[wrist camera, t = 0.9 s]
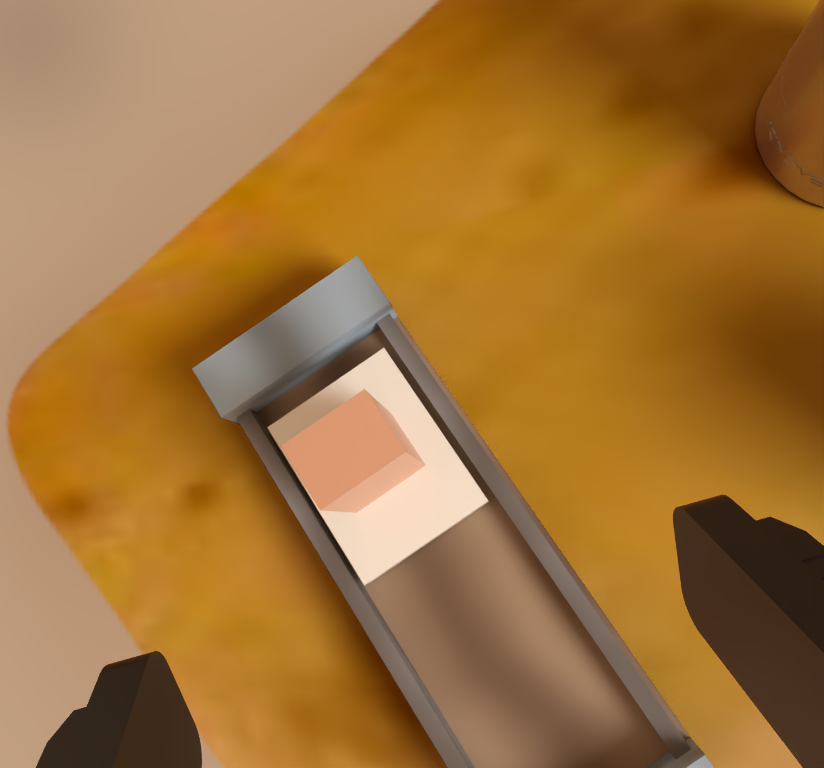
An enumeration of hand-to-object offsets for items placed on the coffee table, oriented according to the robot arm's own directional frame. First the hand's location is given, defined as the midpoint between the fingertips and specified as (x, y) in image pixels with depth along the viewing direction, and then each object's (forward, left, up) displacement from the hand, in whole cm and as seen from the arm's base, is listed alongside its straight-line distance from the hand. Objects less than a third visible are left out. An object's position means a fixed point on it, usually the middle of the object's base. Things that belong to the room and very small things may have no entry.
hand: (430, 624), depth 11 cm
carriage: (+2, -6, -24) cm, 25 cm away
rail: (+2, 0, -26) cm, 26 cm away
